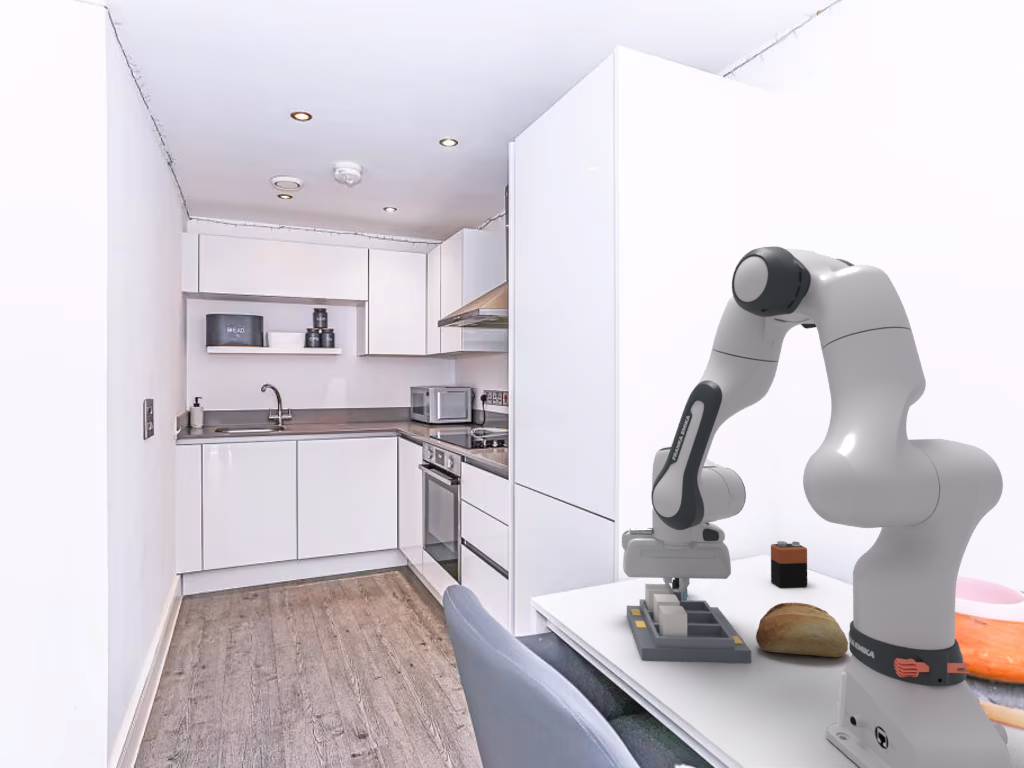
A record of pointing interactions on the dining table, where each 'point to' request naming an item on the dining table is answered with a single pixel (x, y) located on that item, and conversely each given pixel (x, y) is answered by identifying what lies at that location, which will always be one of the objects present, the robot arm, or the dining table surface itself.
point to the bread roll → (801, 631)
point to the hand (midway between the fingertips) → (676, 599)
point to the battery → (788, 565)
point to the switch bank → (689, 636)
